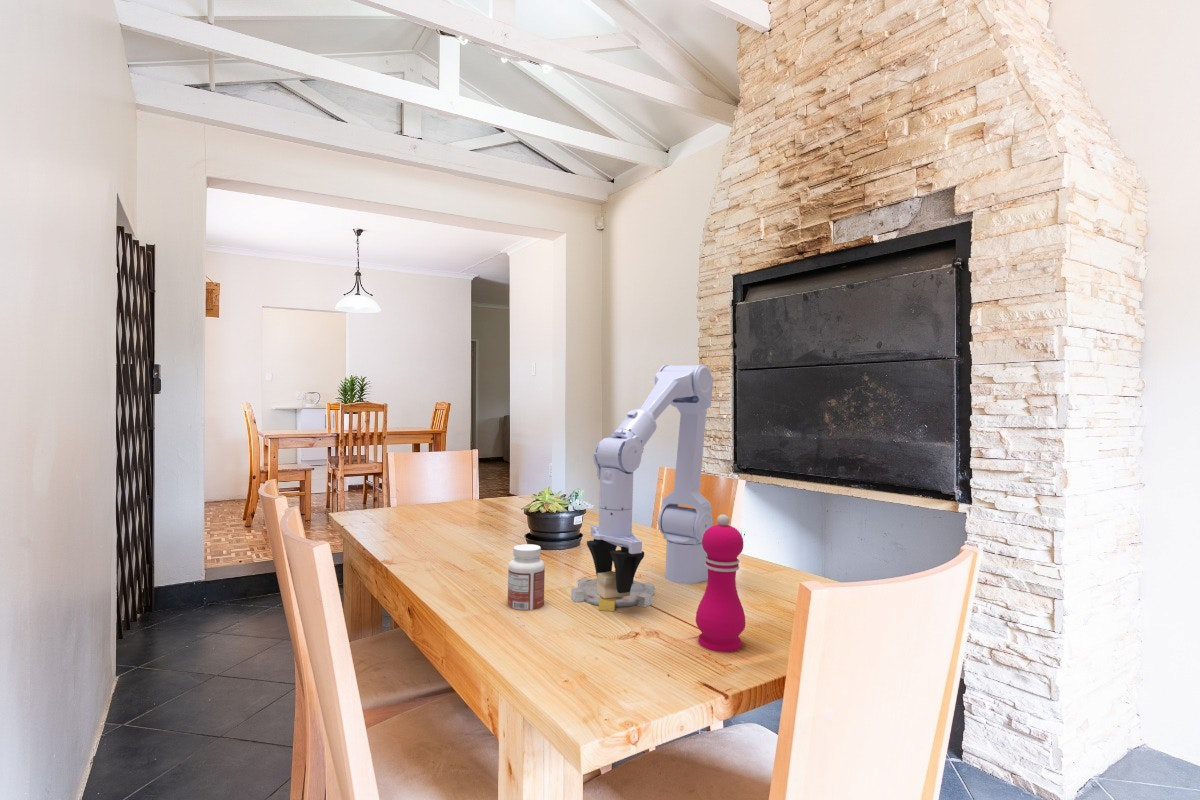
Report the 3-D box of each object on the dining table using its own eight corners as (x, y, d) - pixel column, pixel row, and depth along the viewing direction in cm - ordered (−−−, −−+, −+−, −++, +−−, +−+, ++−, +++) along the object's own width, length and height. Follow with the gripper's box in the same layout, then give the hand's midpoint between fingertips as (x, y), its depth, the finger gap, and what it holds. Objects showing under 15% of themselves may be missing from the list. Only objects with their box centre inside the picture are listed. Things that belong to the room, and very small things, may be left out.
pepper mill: (734, 664, 88) (738, 520, 88) (686, 652, 92) (690, 514, 92) (751, 648, 94) (755, 514, 94) (706, 637, 98) (709, 508, 98)
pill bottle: (536, 604, 112) (538, 541, 112) (549, 615, 106) (551, 549, 106) (502, 608, 109) (504, 544, 109) (513, 620, 103) (515, 552, 104)
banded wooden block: (621, 590, 111) (622, 570, 111) (630, 595, 109) (631, 574, 109) (596, 593, 109) (597, 572, 109) (604, 598, 106) (605, 577, 106)
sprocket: (582, 582, 122) (582, 557, 122) (656, 587, 120) (656, 562, 120) (564, 607, 107) (565, 579, 107) (649, 614, 104) (650, 585, 104)
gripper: (576, 502, 113) (574, 578, 113) (616, 516, 101) (613, 601, 100) (610, 500, 117) (608, 574, 117) (653, 513, 104) (651, 596, 104)
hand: (613, 586), depth 109 cm, fingers open, 6 cm apart
